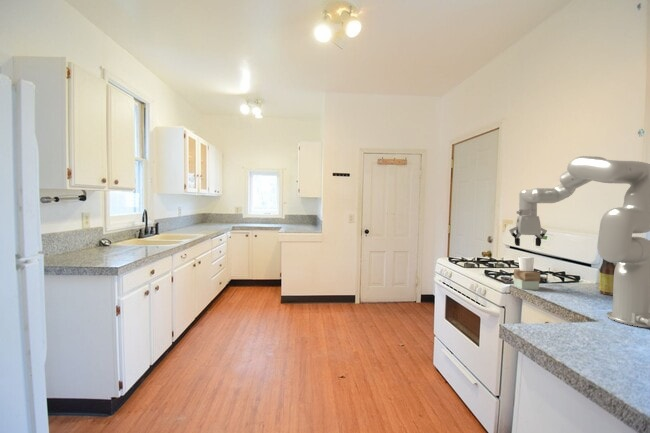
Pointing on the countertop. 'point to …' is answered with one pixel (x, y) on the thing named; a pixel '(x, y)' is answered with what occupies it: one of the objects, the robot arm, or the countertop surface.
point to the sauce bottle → (606, 277)
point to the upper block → (527, 275)
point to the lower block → (526, 284)
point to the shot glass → (526, 263)
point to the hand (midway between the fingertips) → (527, 245)
